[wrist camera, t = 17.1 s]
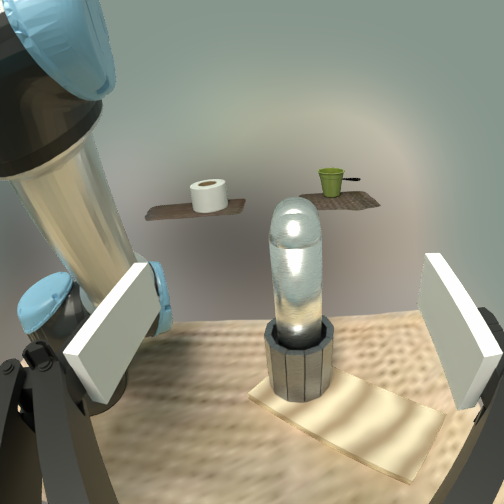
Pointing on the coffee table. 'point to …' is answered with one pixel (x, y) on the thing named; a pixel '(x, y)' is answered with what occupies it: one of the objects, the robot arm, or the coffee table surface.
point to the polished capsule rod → (297, 273)
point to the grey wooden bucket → (299, 365)
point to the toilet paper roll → (209, 195)
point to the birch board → (362, 423)
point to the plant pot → (331, 181)
